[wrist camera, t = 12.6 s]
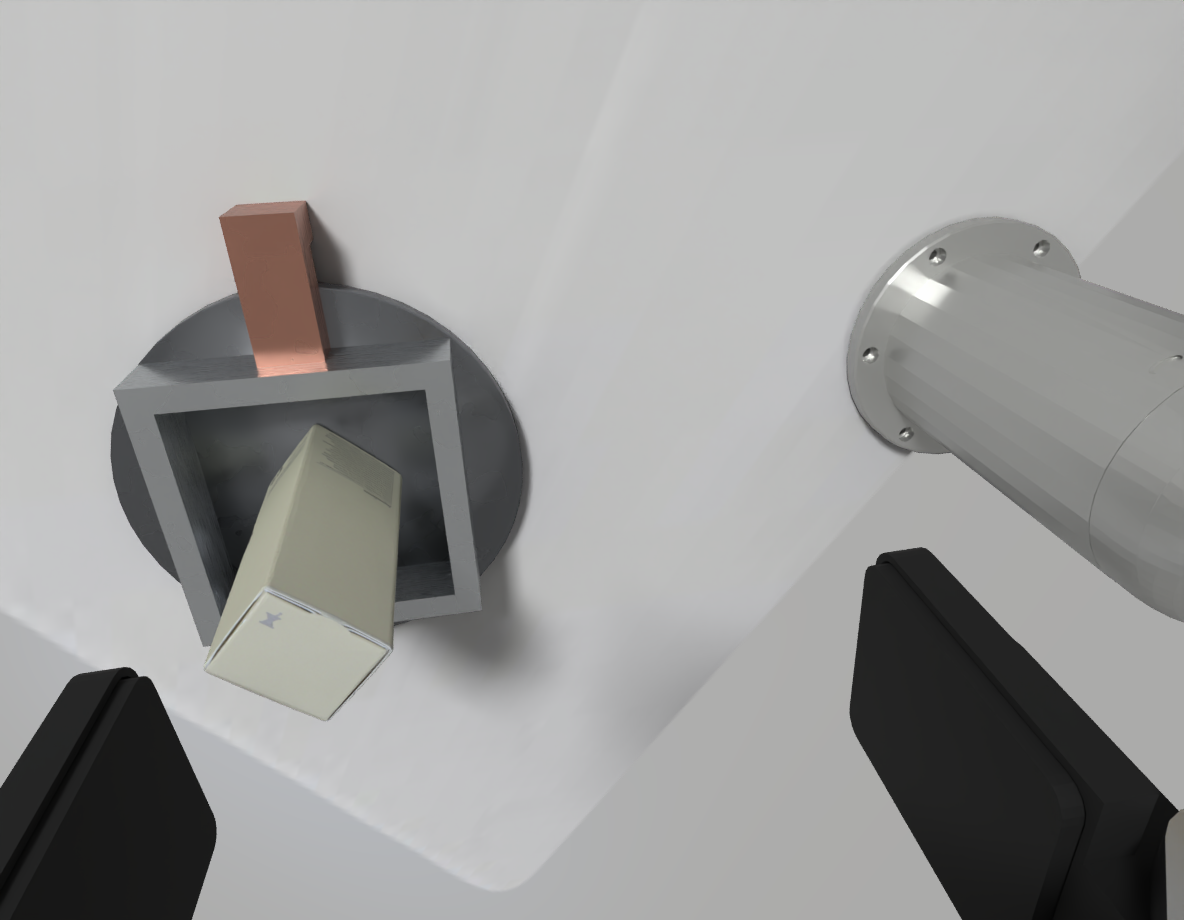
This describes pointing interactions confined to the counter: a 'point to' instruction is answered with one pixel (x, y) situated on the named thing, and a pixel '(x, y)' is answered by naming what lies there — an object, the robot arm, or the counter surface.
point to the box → (315, 580)
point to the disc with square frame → (311, 423)
